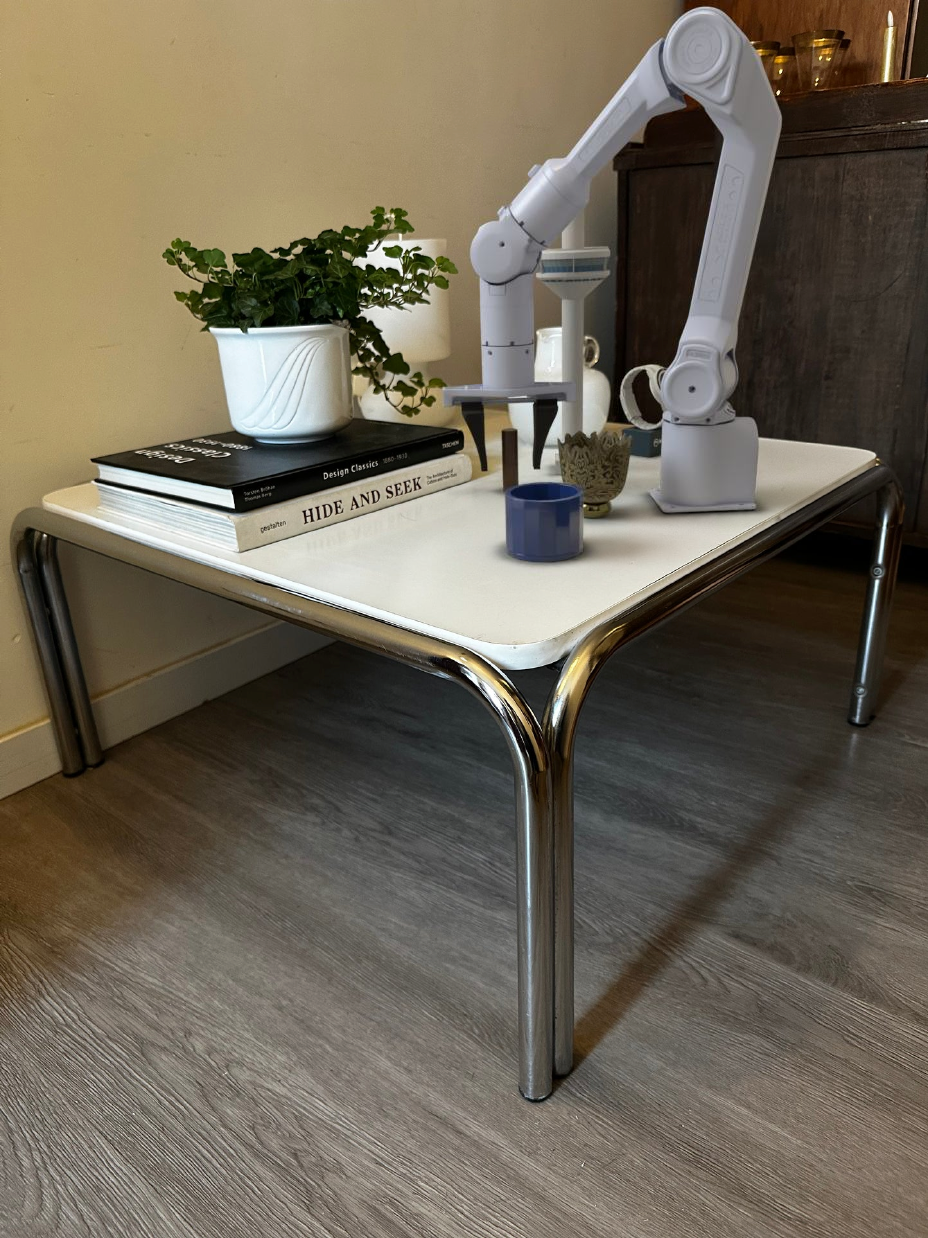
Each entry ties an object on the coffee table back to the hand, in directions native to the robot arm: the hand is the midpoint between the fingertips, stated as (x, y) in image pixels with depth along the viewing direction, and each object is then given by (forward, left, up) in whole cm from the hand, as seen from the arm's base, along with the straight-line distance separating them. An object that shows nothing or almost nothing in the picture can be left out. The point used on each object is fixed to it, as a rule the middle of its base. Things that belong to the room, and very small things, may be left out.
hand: (510, 468), depth 105 cm
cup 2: (-8, +11, -3) cm, 14 cm away
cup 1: (-2, +22, -3) cm, 22 cm away
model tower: (-8, -9, -3) cm, 12 cm away
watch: (-19, -18, -3) cm, 26 cm away
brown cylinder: (0, 0, -3) cm, 3 cm away
